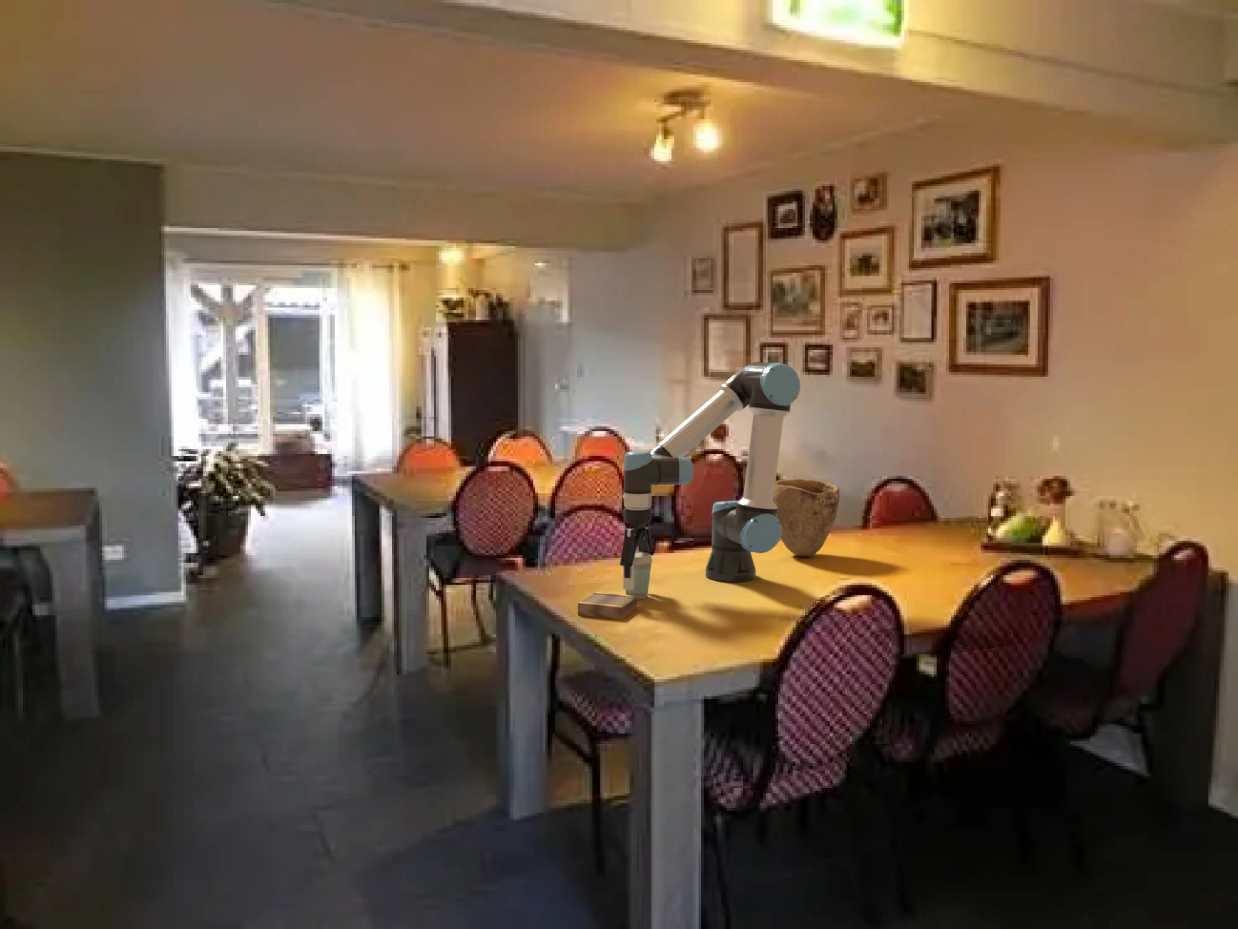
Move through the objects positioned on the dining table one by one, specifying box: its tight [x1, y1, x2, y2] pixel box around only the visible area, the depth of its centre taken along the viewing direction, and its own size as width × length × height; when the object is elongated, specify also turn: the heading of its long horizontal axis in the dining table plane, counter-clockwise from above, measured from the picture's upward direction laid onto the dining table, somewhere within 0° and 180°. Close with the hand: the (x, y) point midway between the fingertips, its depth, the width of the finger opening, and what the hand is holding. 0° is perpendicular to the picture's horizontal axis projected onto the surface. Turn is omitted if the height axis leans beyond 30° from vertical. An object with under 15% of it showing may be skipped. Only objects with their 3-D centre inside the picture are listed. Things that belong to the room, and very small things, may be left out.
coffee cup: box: [625, 551, 653, 601], centre depth 277 cm, size 8×8×12 cm
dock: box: [577, 591, 638, 620], centre depth 262 cm, size 12×12×3 cm
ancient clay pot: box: [773, 478, 841, 558], centre depth 331 cm, size 22×22×25 cm
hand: (636, 583), depth 277 cm, fingers open, 13 cm apart
